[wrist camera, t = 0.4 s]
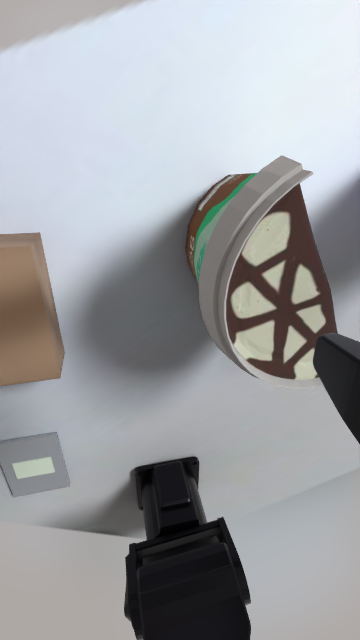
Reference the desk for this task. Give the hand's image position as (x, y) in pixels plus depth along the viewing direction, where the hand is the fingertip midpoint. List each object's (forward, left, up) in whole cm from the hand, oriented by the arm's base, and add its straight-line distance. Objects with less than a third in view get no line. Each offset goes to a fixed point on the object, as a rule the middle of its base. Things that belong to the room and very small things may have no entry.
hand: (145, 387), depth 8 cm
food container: (-2, -7, -16) cm, 17 cm away
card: (-20, +9, -16) cm, 27 cm away
